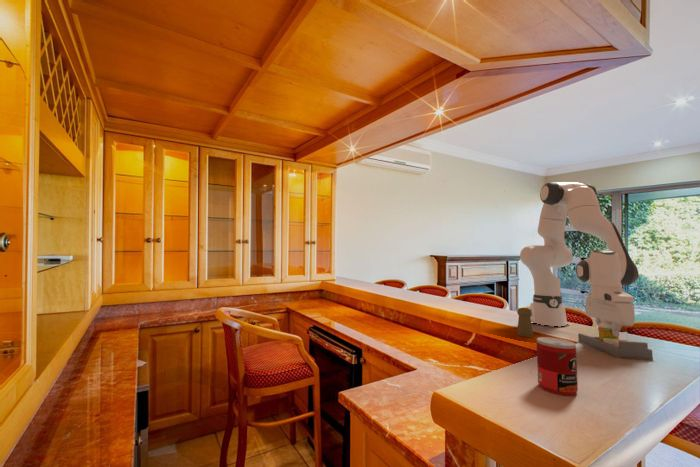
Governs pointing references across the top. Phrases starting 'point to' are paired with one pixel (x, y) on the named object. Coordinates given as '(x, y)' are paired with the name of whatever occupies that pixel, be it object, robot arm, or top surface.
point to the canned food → (557, 366)
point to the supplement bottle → (606, 330)
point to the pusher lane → (619, 348)
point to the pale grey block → (613, 341)
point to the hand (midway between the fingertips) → (608, 333)
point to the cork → (524, 323)
